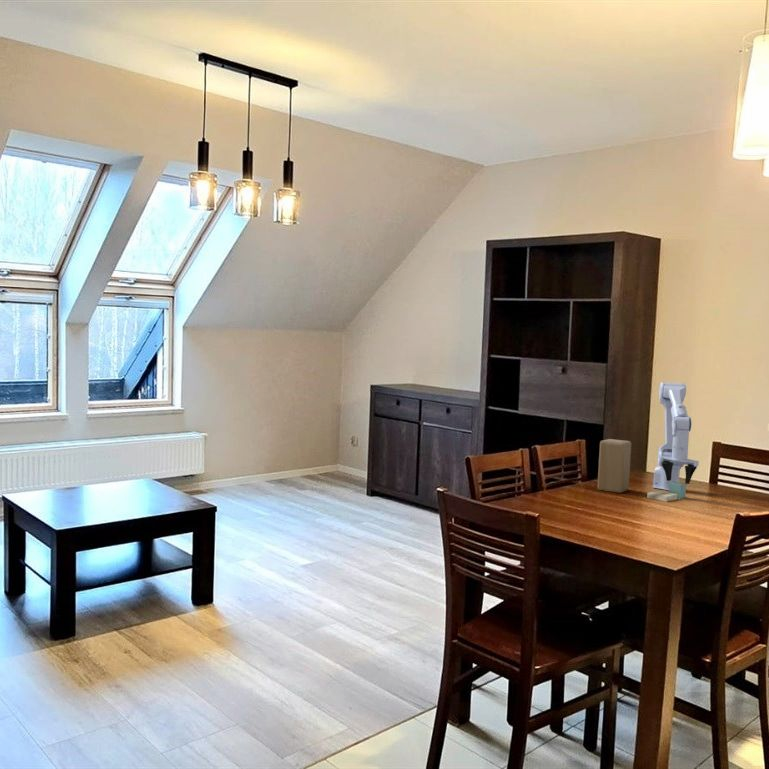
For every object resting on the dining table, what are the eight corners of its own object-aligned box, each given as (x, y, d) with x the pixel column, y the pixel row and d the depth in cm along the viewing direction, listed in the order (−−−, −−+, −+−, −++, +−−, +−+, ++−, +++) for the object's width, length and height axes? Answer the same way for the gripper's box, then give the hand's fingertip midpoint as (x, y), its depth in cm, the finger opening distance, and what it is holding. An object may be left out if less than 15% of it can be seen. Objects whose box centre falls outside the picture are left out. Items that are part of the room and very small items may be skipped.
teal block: (668, 496, 300) (669, 482, 299) (674, 495, 303) (675, 481, 302) (679, 499, 296) (680, 484, 296) (685, 497, 299) (686, 483, 299)
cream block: (647, 497, 296) (647, 492, 296) (657, 495, 301) (657, 490, 301) (666, 501, 290) (667, 496, 290) (677, 499, 295) (677, 494, 295)
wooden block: (605, 486, 316) (607, 438, 315) (629, 490, 310) (632, 441, 309) (596, 490, 308) (599, 440, 307) (621, 493, 302) (624, 443, 301)
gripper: (657, 445, 301) (655, 480, 302) (693, 450, 290) (691, 486, 291) (666, 444, 306) (664, 478, 306) (702, 449, 295) (699, 484, 296)
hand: (678, 482), depth 299 cm, fingers open, 7 cm apart
